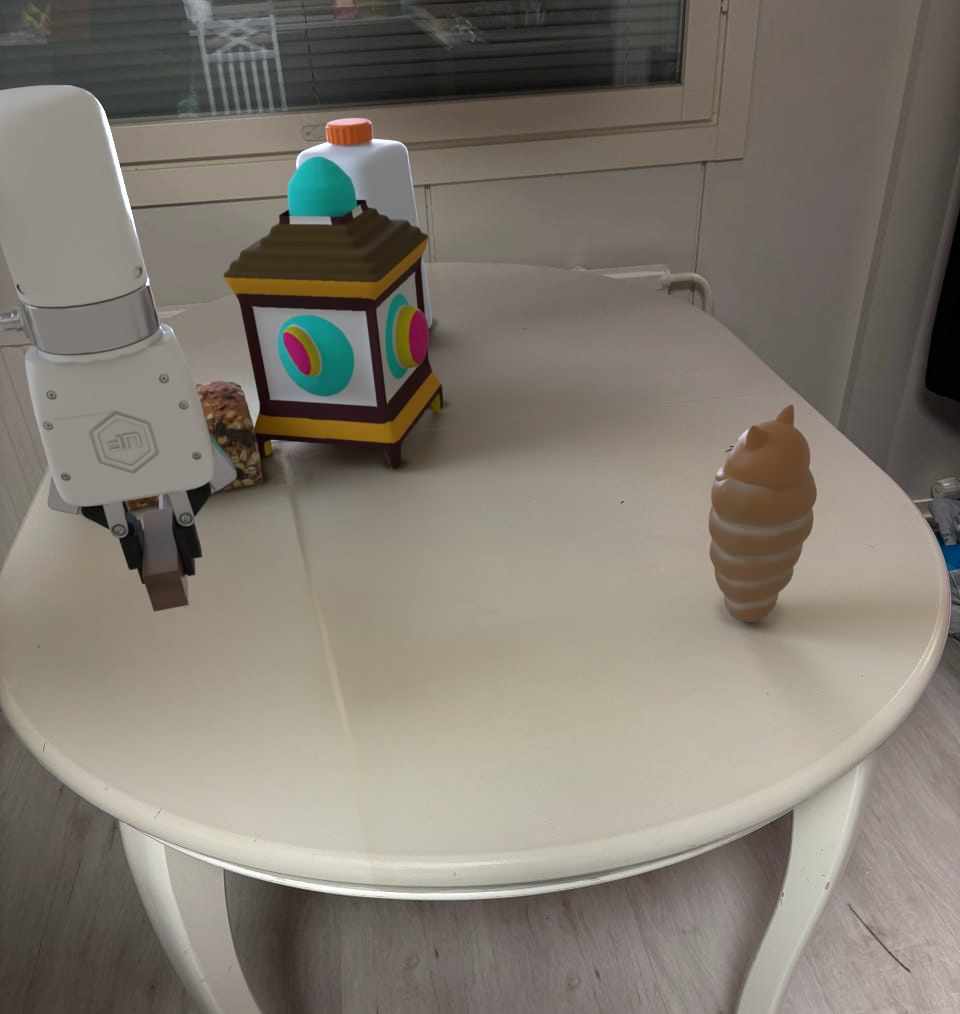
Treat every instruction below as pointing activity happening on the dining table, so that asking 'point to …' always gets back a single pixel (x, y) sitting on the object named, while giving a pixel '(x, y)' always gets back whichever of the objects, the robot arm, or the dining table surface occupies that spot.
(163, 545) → the knife
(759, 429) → the cat ice cream
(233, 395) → the bread
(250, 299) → the decorative lantern
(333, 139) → the plastic bottle
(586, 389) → the dining table surface
